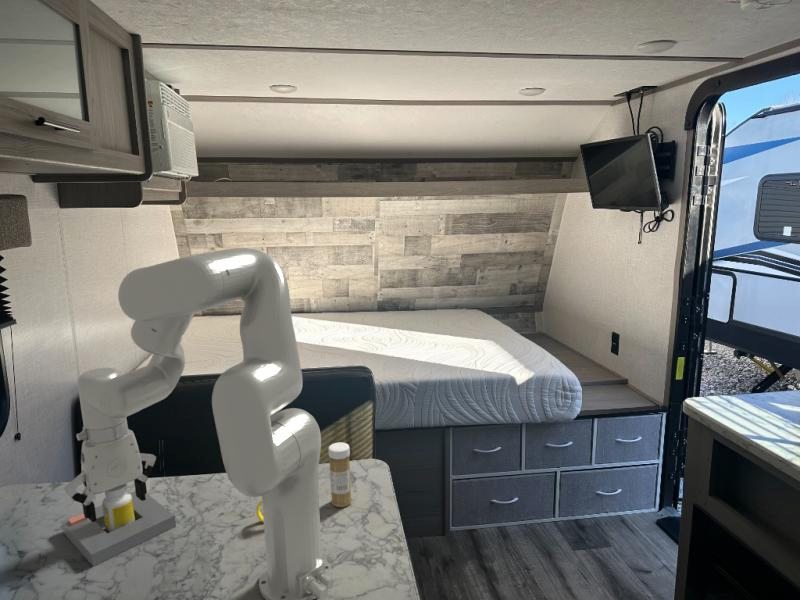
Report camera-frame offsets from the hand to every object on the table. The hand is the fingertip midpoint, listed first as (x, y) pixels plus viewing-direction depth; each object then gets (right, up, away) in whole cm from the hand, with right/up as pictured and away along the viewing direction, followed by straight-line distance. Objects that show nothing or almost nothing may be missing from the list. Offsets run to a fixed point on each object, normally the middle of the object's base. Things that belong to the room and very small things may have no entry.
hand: (117, 508), depth 111 cm
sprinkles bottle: (+45, -2, +9) cm, 46 cm away
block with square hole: (0, -5, +1) cm, 5 cm away
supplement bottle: (0, -5, +1) cm, 5 cm away
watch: (+31, -4, +3) cm, 32 cm away
